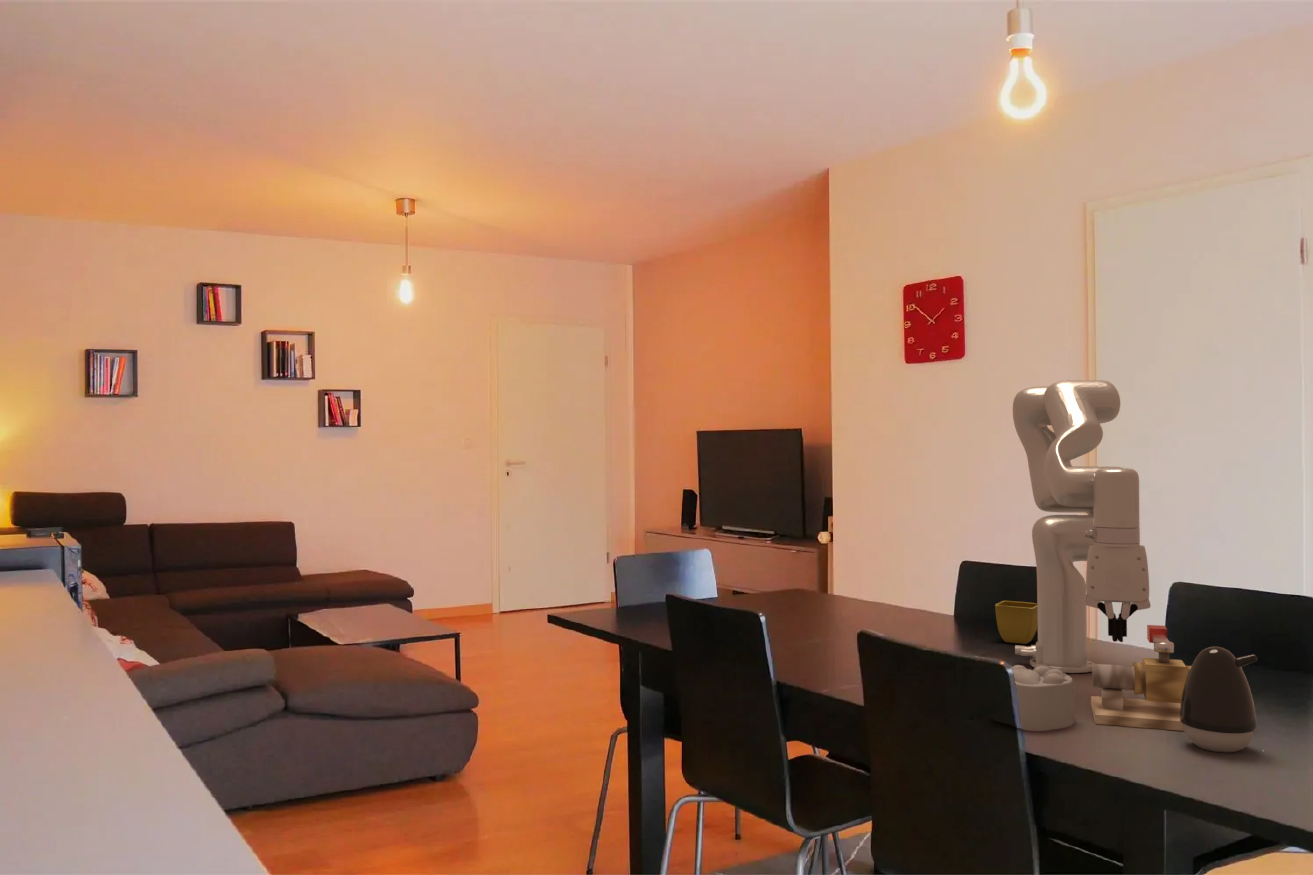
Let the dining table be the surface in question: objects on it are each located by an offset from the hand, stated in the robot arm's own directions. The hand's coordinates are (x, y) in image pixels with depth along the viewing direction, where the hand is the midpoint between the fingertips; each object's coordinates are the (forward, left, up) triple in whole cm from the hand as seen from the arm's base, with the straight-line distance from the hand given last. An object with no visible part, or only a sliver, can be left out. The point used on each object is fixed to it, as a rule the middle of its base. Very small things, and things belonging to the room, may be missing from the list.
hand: (1117, 640), depth 184 cm
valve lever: (+6, -4, 0) cm, 8 cm away
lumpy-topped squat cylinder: (-14, -17, -12) cm, 25 cm away
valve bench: (+6, -9, -11) cm, 16 cm away
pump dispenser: (+12, -25, -11) cm, 30 cm away
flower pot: (-18, +58, -11) cm, 61 cm away
